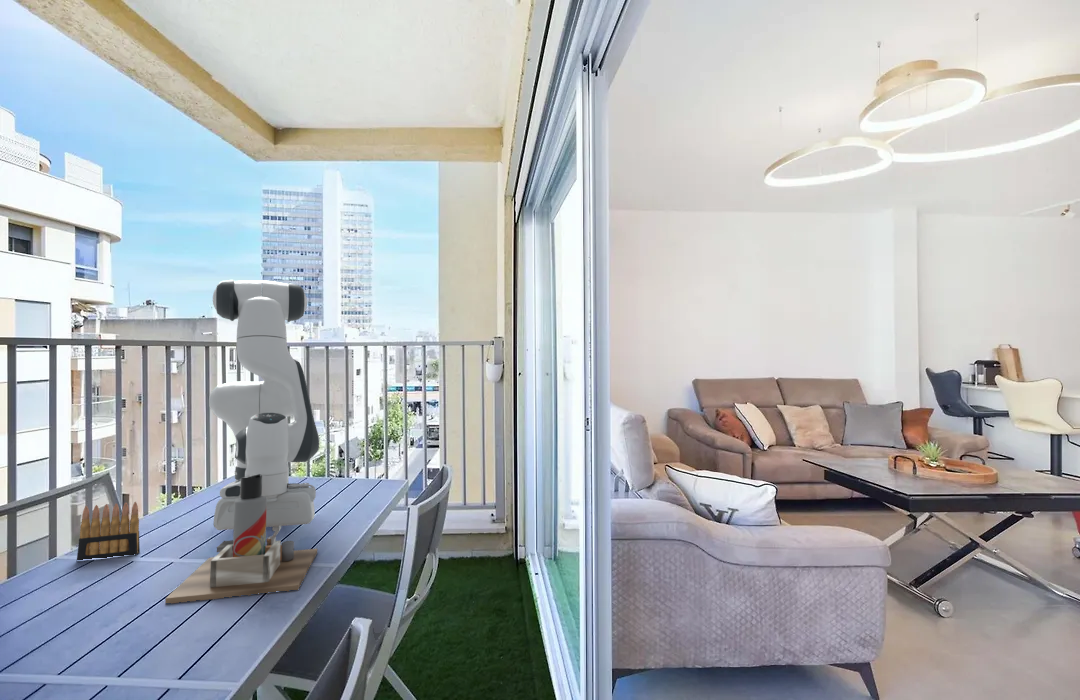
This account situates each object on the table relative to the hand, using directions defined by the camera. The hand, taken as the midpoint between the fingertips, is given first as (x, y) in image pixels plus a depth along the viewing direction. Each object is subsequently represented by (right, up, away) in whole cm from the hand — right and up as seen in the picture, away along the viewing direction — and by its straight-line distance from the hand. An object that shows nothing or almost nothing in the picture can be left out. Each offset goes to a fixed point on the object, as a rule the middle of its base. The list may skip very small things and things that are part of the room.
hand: (265, 545), depth 111 cm
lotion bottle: (+4, -1, -12) cm, 13 cm away
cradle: (+3, -2, -11) cm, 11 cm away
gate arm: (+3, -1, -7) cm, 7 cm away
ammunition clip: (-35, -2, -1) cm, 35 cm away
